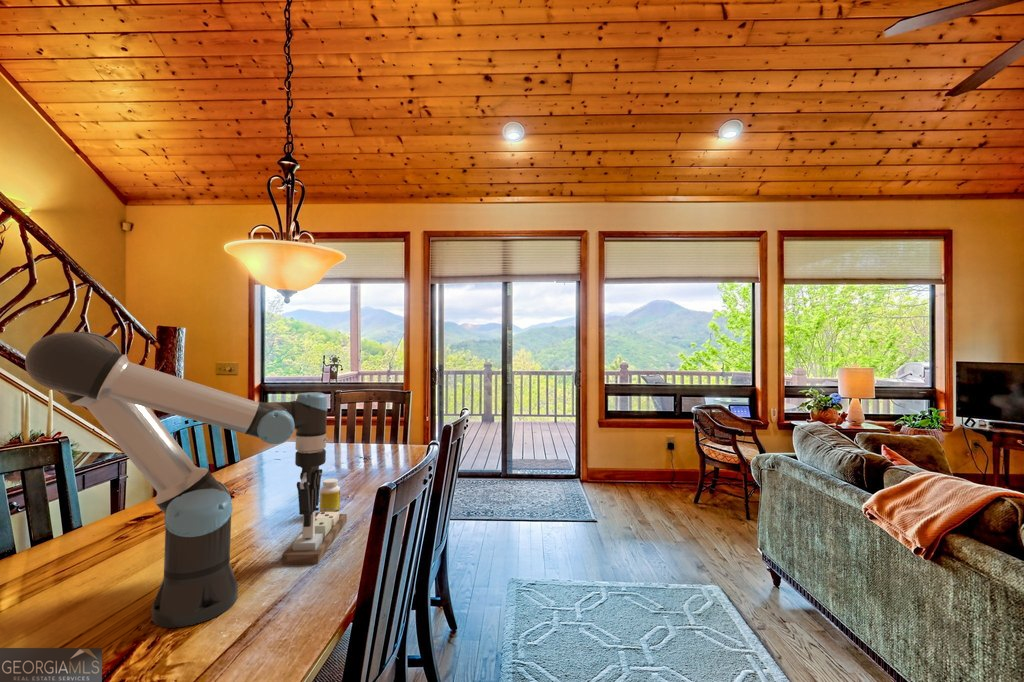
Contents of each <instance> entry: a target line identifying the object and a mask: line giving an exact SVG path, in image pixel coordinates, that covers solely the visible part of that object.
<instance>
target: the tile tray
mask: <svg viewBox="0 0 1024 682" xmlns="http://www.w3.org/2000/svg"><path fill="white" fill-rule="evenodd" d="M347 517H348V515H347V513H339V520H338V521H337V523H336V524H335V525H331V530H330V531H329V532H328V534H327V535H326V537H323V541H322V543H321V545H320V546H319V547H318V549H317V550H302V551H293V542H292V543H291V544H290V545H289V546H288V547H287V549H286V550H285V551H284V552H283V553H282V554H281V565H311V564H312V565H317V564H318V565H319V563H320V561H321V560H322V559H323V557H324V556H325V555H326V553H327V551H328V550H329V548H330V547H331V546H332V544H333V543H334V540H336V538H337V537H338V535H339V534H340V532H341V530H343V528H344V527H345V525H346V524H347V519H348V518H347ZM301 534H302V532H301V533H299V535H298V536H297V537H296V538H295V540H296V539H297V538H298V537H299V536H300V535H301Z"/></svg>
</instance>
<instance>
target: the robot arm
mask: <svg viewBox="0 0 1024 682" xmlns="http://www.w3.org/2000/svg"><path fill="white" fill-rule="evenodd" d="M24 359H25V361H24V365H25V370H26V372H27V374H28V375H29V377H30V378H31V379H32V380H33V381H34V382H35V383H37V384H38V385H40V386H42V387H44V388H46V389H49V390H54V391H57V392H60V393H62V395H63V396H64V397H65V398H66V400H67V401H68V402H69V403H70V404H71V405H73V406H79V407H85V408H86V409H87V410H88V411H89V412H90V413H91V414H92V416H93V417H94V418H95V420H97V422H98V423H99V425H101V427H102V428H103V429H104V430H105V431H106V433H107V434H108V435H109V436H110V437H111V439H112V440H113V441H114V442H115V443H116V445H117V446H118V447H119V448H120V449H121V451H122V452H123V453H124V454H125V455H126V456H127V458H128V459H129V461H130V462H132V464H133V466H135V468H137V470H138V471H139V472H140V474H142V475H143V477H144V478H145V479H146V480H147V481H148V483H149V484H150V485H151V486H152V488H153V489H154V490H155V491H156V496H155V500H154V504H156V506H157V507H158V508H159V509H160V510H161V512H162V513H163V514H164V521H163V522H164V526H165V527H164V528H165V529H164V531H165V532H164V557H163V558H164V559H163V560H164V561H163V578H162V581H161V584H160V586H159V589H158V590H157V593H156V596H155V598H154V601H153V603H152V606H151V622H152V621H153V622H154V623H155V624H156V626H157V625H158V626H157V627H160V628H167V629H168V628H169V629H174V628H176V627H177V628H184V626H185V627H189V626H188V625H190V626H193V625H192V624H194V625H197V624H196V623H198V624H201V623H204V622H207V621H209V620H212V619H214V618H216V617H218V616H220V615H222V614H223V613H225V612H227V611H228V610H229V609H230V608H232V607H233V606H234V605H235V603H236V602H237V600H238V597H239V584H238V581H237V579H236V576H235V573H234V571H233V570H234V569H233V568H232V566H231V535H232V533H231V532H232V514H233V510H234V509H233V508H234V507H233V503H232V497H231V494H230V491H229V489H228V488H227V487H226V485H225V484H224V483H222V482H221V481H220V480H218V479H216V478H215V476H214V475H213V474H212V473H211V471H210V470H209V469H208V468H207V467H198V466H197V465H195V463H194V462H193V460H192V459H191V458H190V457H189V456H188V455H187V452H185V451H184V449H183V448H182V447H181V446H180V445H179V443H178V442H177V441H176V439H175V438H174V437H173V436H172V434H171V433H170V432H169V430H168V429H167V428H166V426H165V425H164V424H163V423H162V421H161V420H160V419H159V418H158V417H157V415H156V414H155V412H153V410H156V411H158V412H163V413H167V414H171V415H174V416H178V417H182V418H186V419H189V420H193V421H196V422H199V423H200V422H201V423H203V424H208V425H211V426H215V427H218V428H223V429H226V430H229V431H234V432H237V433H241V434H245V435H248V436H249V437H250V436H251V437H254V438H256V439H260V440H261V441H263V442H264V443H267V444H270V445H279V444H283V443H285V442H286V441H288V440H289V439H290V438H291V437H292V436H293V434H294V432H296V433H295V450H296V452H295V455H294V456H295V457H294V458H295V459H294V465H295V466H296V467H299V468H301V472H300V474H299V479H300V481H297V483H296V488H297V496H298V509H299V513H298V515H300V516H301V515H302V531H301V533H302V538H313V537H314V536H315V517H316V512H318V511H320V507H318V506H319V505H320V490H321V481H322V480H321V479H322V474H323V469H322V468H320V466H322V465H324V464H325V463H326V460H327V458H326V454H327V450H326V449H325V448H326V445H327V443H326V442H328V440H329V438H328V437H327V420H328V419H327V417H328V401H327V398H328V397H327V395H326V394H325V393H323V392H317V391H316V392H311V391H310V392H301V393H299V394H297V396H296V400H291V401H269V402H268V401H267V402H263V401H259V402H258V401H255V400H252V399H249V398H246V397H242V396H240V395H236V394H233V393H230V392H228V391H227V392H226V391H223V390H220V389H217V388H215V387H214V388H213V387H210V386H207V385H205V384H201V383H198V382H194V381H191V380H188V379H186V378H182V377H178V376H175V375H173V374H169V373H166V372H162V371H159V370H156V369H153V368H150V367H146V366H144V365H140V364H138V363H133V362H131V361H130V360H129V359H128V357H127V355H125V354H123V353H121V352H120V349H119V348H118V346H117V345H116V343H114V342H113V341H112V340H109V338H107V337H105V336H103V335H101V334H98V333H93V332H89V331H77V332H76V331H75V332H73V331H72V332H71V331H70V332H69V331H65V332H57V333H52V334H48V335H46V336H44V337H42V338H41V339H40V338H39V340H37V341H36V342H35V343H33V345H32V346H31V347H30V348H29V350H28V351H27V353H26V355H25V358H24ZM295 430H296V431H295ZM221 613H222V614H221ZM203 621H204V622H203ZM153 622H152V623H153ZM200 622H201V623H200ZM154 623H153V624H154ZM155 624H154V625H155Z"/></svg>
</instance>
